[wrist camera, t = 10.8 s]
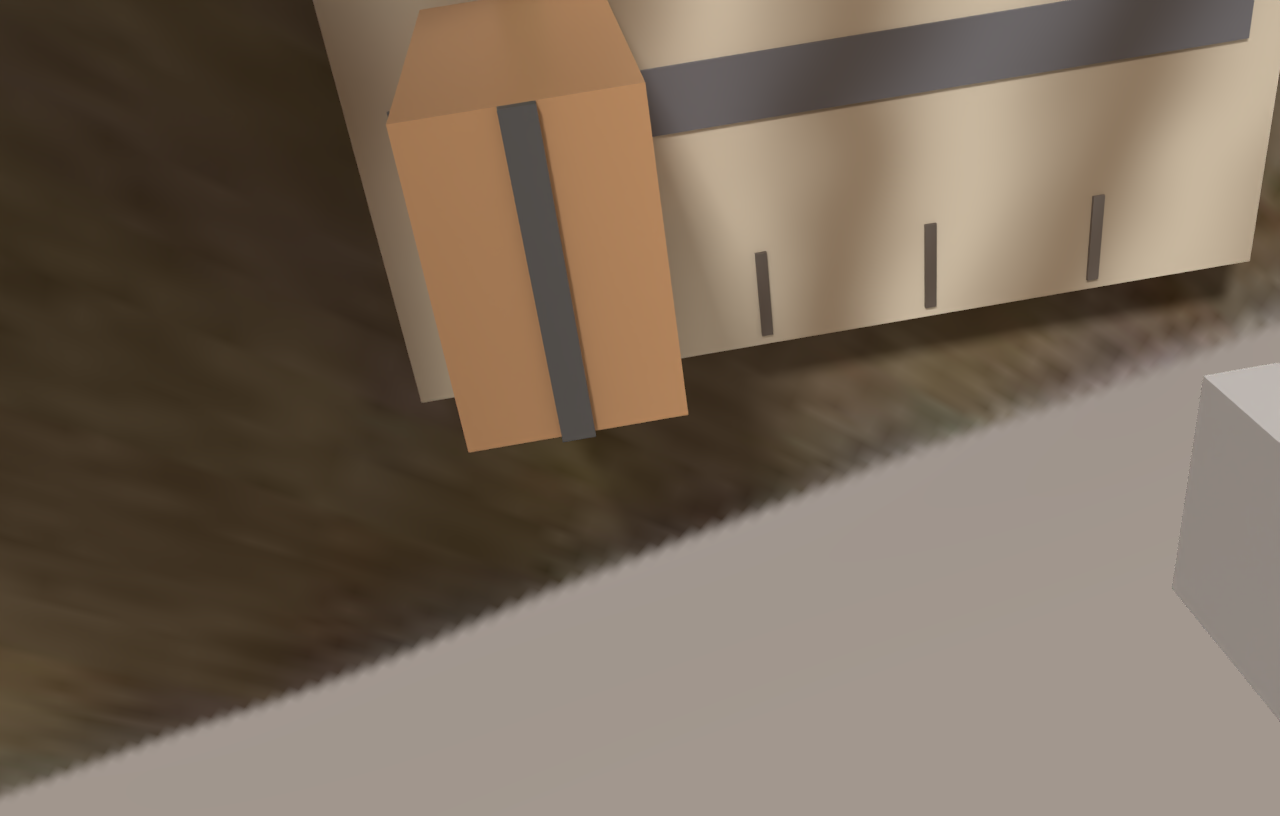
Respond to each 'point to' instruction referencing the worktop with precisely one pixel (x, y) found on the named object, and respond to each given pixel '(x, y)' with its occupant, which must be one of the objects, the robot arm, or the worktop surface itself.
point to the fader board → (891, 152)
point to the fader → (538, 219)
